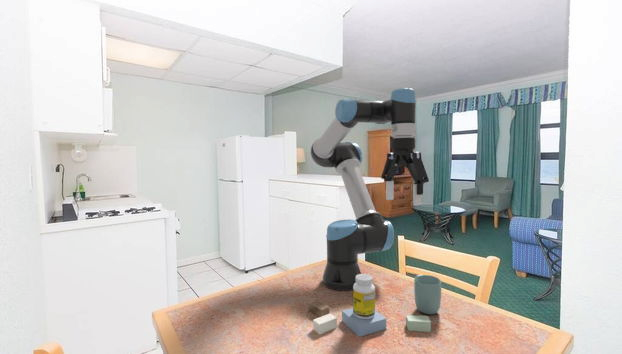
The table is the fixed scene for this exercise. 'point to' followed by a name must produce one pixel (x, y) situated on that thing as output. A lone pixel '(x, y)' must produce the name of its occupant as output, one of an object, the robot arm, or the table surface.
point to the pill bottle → (364, 297)
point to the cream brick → (324, 323)
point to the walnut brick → (318, 308)
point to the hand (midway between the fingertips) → (402, 202)
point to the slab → (363, 323)
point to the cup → (427, 293)
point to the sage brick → (418, 323)
